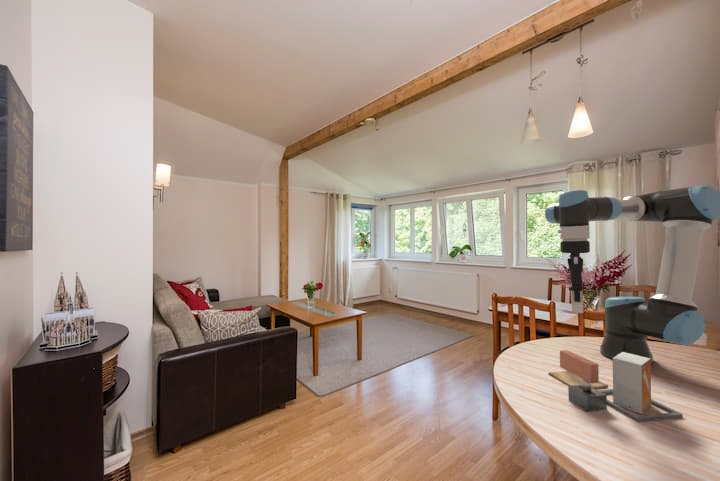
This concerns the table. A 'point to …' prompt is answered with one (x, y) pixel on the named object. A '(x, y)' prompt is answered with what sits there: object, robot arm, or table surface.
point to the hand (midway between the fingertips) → (576, 307)
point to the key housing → (587, 398)
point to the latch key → (580, 368)
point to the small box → (632, 382)
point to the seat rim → (669, 415)
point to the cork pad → (573, 379)
